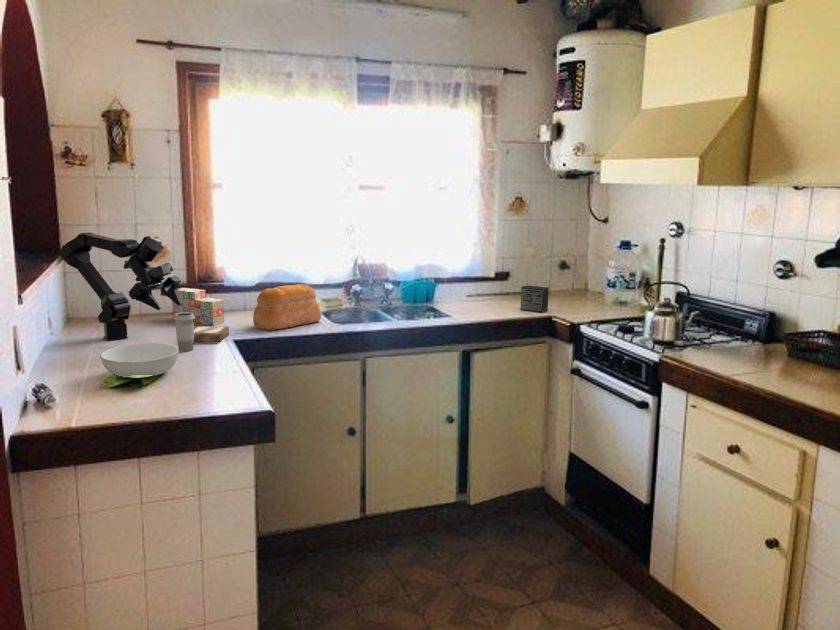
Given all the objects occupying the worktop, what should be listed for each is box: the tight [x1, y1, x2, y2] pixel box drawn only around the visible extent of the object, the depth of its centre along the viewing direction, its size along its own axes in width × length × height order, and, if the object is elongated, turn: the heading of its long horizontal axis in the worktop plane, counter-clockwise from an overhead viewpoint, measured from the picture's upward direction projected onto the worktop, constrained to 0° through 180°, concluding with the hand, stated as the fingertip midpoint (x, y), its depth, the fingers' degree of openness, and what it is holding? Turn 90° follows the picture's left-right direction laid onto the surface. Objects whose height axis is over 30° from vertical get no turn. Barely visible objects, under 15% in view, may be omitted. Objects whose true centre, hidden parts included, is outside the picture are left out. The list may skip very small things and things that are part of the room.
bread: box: [252, 283, 322, 331], centre depth 268 cm, size 14×26×15 cm, turn 139°
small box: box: [520, 284, 549, 314], centre depth 301 cm, size 11×6×10 cm, turn 58°
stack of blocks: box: [171, 287, 225, 326], centre depth 272 cm, size 21×6×12 cm, turn 62°
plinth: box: [193, 325, 230, 344], centre depth 245 cm, size 12×12×3 cm
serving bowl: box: [100, 342, 180, 376], centre depth 201 cm, size 21×21×7 cm
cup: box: [173, 312, 195, 352], centre depth 229 cm, size 7×7×12 cm
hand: (169, 307), depth 232 cm, fingers open, 9 cm apart
